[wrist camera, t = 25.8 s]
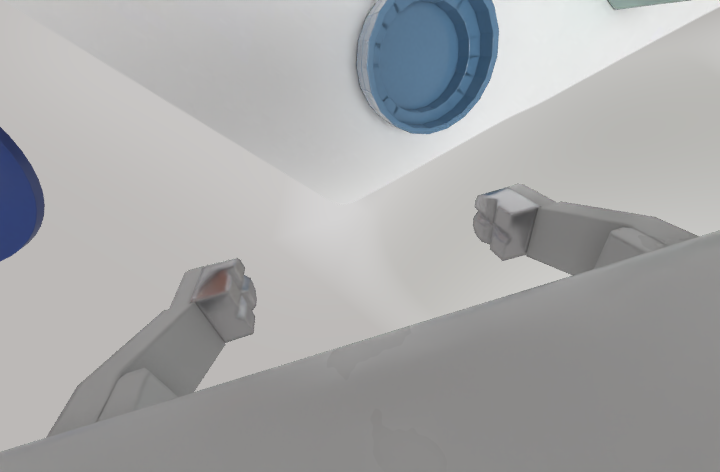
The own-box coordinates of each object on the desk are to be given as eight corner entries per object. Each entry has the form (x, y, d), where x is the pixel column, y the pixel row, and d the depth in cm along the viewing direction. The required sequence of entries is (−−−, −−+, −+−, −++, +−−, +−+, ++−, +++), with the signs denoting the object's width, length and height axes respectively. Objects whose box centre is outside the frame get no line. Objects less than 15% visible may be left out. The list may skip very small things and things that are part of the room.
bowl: (411, 146, 41) (427, 158, 37) (330, 68, 33) (338, 70, 29) (491, 53, 37) (521, 53, 32) (419, -63, 29) (445, -84, 25)
